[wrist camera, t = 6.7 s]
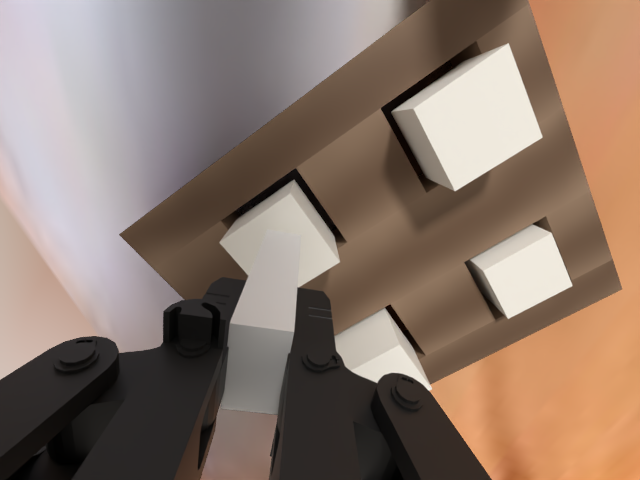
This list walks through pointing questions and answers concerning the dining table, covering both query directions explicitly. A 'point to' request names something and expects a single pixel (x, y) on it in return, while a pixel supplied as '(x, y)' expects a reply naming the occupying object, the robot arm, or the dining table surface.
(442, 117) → the button
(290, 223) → the button
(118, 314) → the dining table surface
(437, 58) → the board
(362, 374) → the button
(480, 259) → the button
